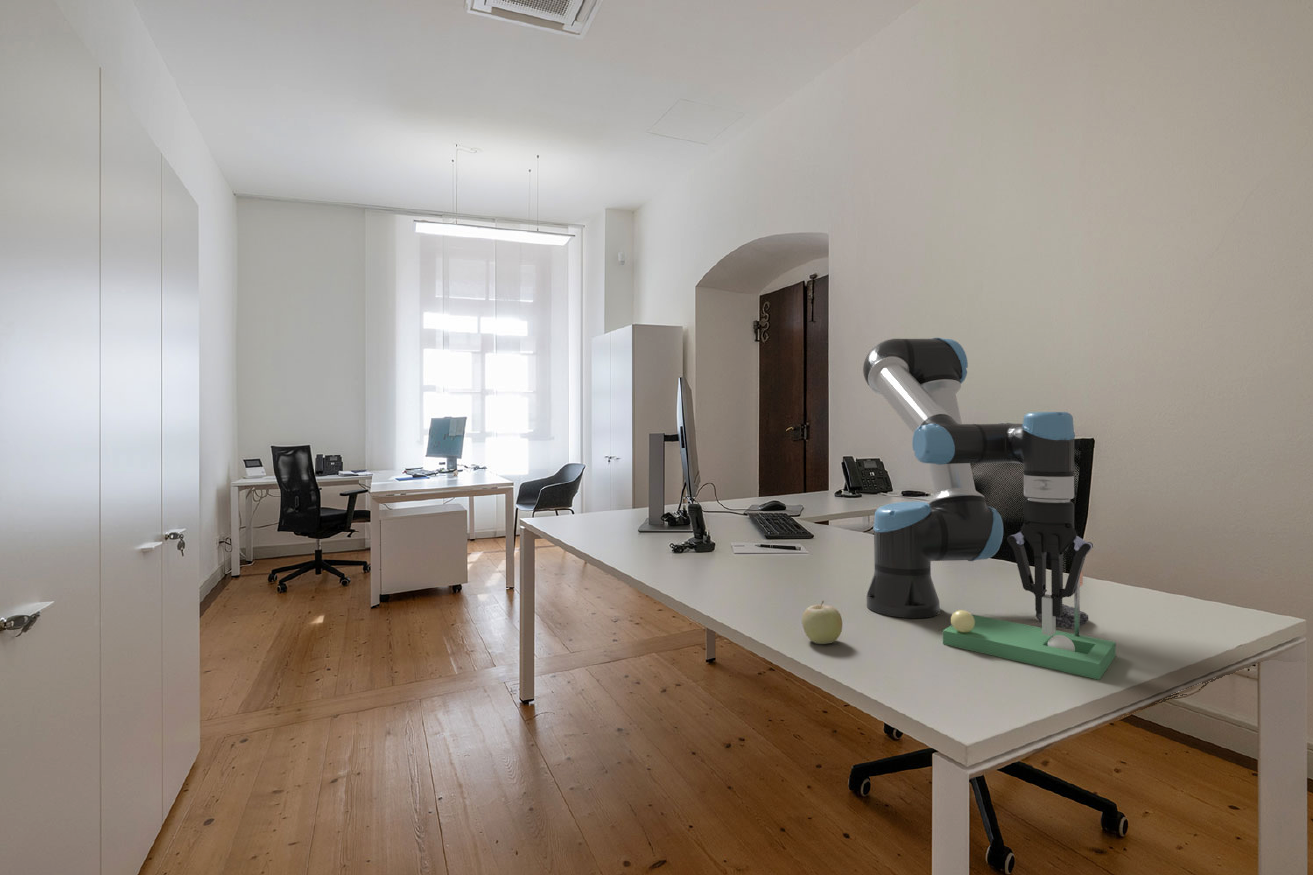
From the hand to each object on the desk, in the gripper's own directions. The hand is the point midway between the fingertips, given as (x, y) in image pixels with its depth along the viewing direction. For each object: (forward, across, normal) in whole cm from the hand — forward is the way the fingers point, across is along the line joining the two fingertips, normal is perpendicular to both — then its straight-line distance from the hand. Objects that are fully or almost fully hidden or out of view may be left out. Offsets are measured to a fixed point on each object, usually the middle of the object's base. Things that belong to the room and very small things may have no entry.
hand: (1048, 633), depth 109 cm
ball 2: (+2, +2, -1) cm, 3 cm away
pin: (+1, +3, +8) cm, 9 cm away
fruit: (+4, -32, -21) cm, 39 cm away
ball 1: (-1, -12, -6) cm, 14 cm away
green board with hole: (+4, -4, 0) cm, 5 cm away
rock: (+4, -3, +24) cm, 24 cm away
